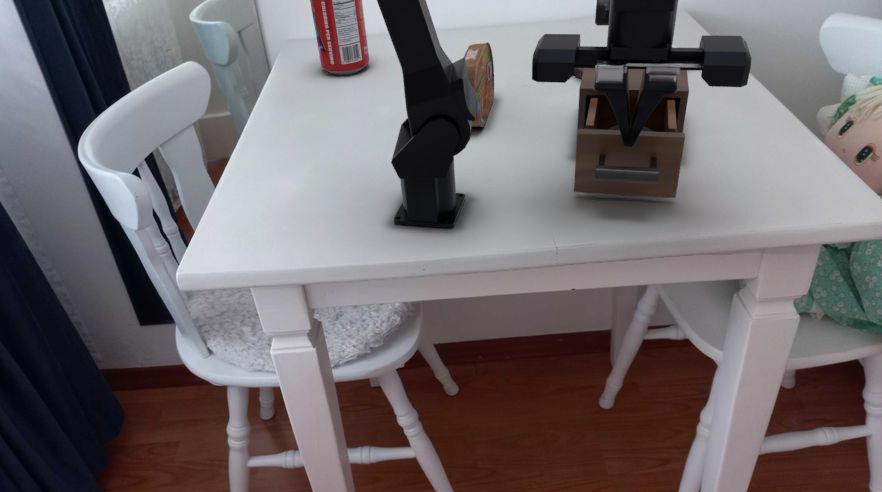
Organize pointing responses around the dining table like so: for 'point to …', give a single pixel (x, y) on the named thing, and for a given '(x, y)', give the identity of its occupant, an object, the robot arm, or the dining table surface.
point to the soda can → (340, 35)
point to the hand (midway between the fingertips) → (628, 144)
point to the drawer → (629, 153)
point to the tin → (481, 79)
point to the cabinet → (632, 94)
